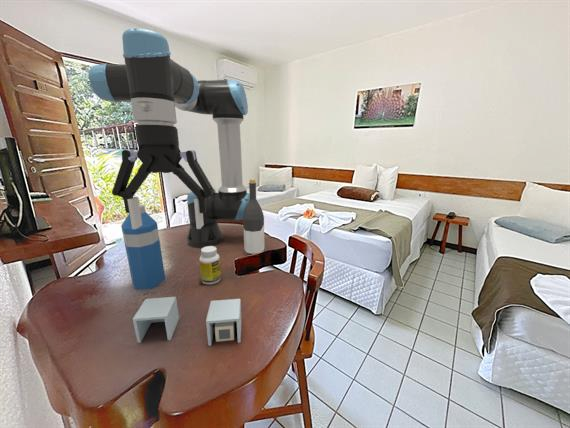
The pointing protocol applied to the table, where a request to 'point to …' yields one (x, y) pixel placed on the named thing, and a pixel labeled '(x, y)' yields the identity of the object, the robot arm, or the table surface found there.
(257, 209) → the wine bottle
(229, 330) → the letter cube
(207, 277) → the pill bottle
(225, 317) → the cover far
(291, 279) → the table surface
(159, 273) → the water bottle
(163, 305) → the cover near
